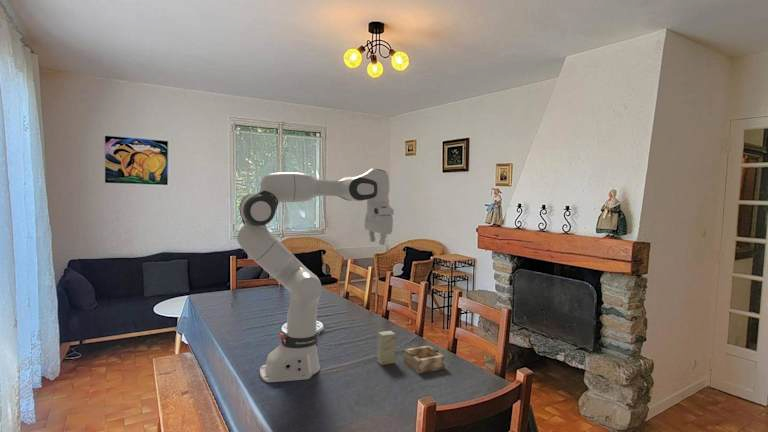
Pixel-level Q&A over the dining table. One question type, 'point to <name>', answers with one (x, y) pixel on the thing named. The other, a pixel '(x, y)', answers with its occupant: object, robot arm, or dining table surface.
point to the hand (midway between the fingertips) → (377, 243)
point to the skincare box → (386, 347)
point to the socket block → (424, 359)
